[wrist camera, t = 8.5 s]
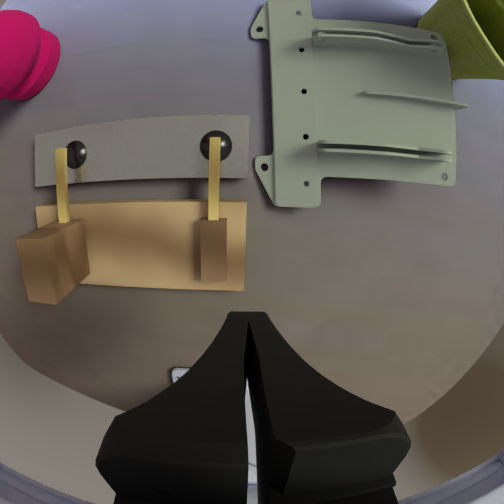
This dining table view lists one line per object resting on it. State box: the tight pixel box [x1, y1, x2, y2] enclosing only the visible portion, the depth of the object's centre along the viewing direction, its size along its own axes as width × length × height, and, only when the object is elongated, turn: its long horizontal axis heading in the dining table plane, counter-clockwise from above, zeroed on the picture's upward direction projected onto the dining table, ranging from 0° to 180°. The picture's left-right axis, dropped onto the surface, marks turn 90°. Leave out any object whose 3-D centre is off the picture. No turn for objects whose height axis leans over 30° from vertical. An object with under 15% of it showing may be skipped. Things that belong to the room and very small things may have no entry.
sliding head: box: [16, 148, 90, 305], centre depth 15 cm, size 9×2×5 cm, turn 178°
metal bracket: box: [251, 0, 468, 208], centre depth 16 cm, size 14×6×15 cm
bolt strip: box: [35, 115, 250, 187], centre depth 17 cm, size 4×16×1 cm, turn 88°
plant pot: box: [417, 0, 504, 80], centre depth 12 cm, size 9×9×9 cm
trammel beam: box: [36, 137, 247, 291], centre depth 18 cm, size 10×16×2 cm, turn 88°
